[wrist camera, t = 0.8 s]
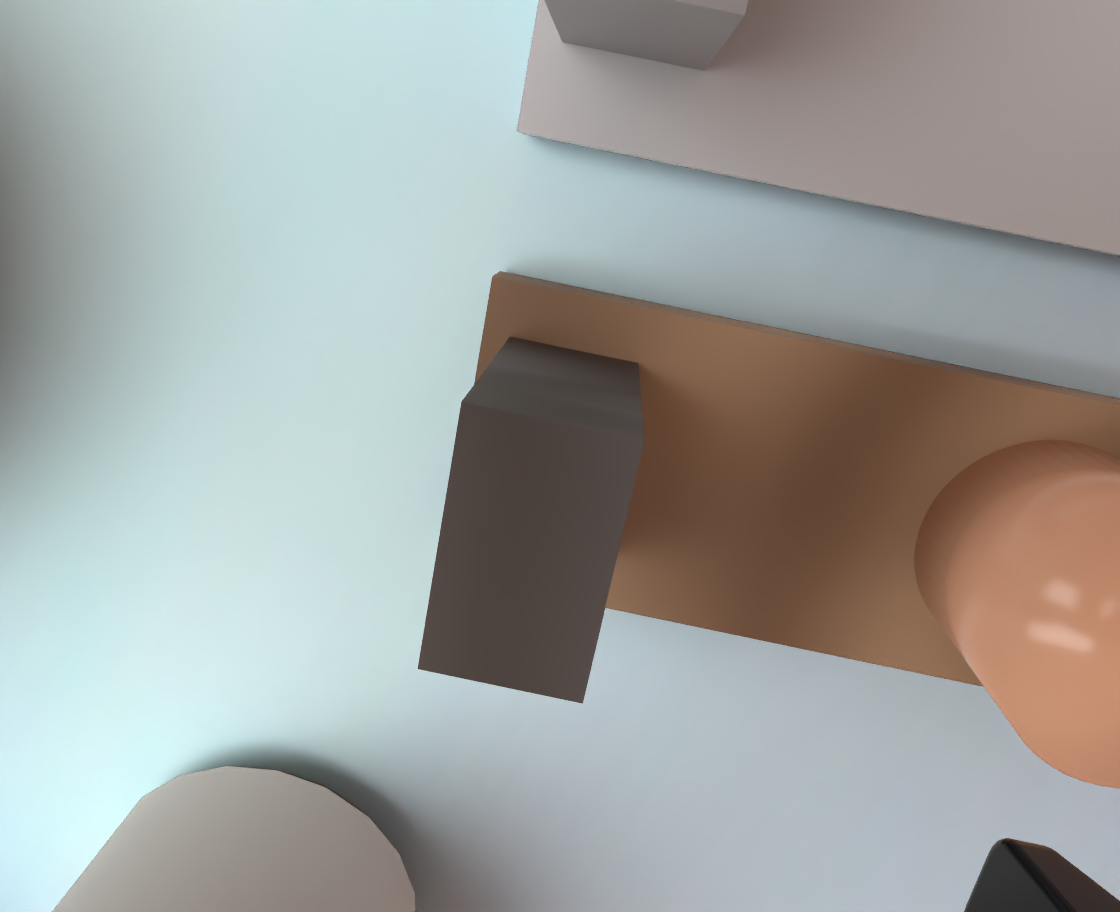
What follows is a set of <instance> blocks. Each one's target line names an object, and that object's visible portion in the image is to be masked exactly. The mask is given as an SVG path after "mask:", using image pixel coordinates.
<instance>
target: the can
mask: <svg viewBox="0 0 1120 912" xmlns="http://www.w3.org/2000/svg"><path fill="white" fill-rule="evenodd" d="M52 912H415V892H414V890H413V887H412V885H411V882H410V880H409V877H408V874H407V872H406V869H405V867H404V864H403V862H402V859H401V857H400V854H399V853H398V852H397V850H396V849H395V848H394V847H393V845H392V844H391V843H390V842H389V841H388V839H387V838H386V837H385V836H384V835H383V833H382V832H381V831H380V830H379V829H378V827H377V826H376V825H375V824H374V822H373V821H372V820H371V819H370V818H369V817H368V816H367V815H365V814H364V813H362V812H361V811H359V810H358V809H357V808H355V807H354V806H352V805H351V804H349V803H348V802H346V801H345V800H343V799H342V798H341V797H339V796H338V795H336V794H335V793H333V792H332V791H330V790H329V789H327V788H326V787H323V786H321V785H318V784H315V783H312V782H309V781H307V780H304V779H301V778H298V777H296V776H293V775H290V774H286V773H283V772H281V771H278V770H267V769H256V768H244V767H233V766H224V767H219V768H214V769H209V770H204V771H199V772H194V773H189V774H184V775H179V776H178V777H176V778H174V779H172V780H171V781H169V782H167V783H165V784H164V785H162V786H160V787H159V788H157V789H155V790H153V791H152V792H150V793H148V794H146V795H145V796H143V797H142V798H141V799H140V800H139V802H138V803H137V804H136V805H135V807H134V808H133V809H132V810H131V812H130V813H129V814H128V816H127V817H126V818H125V819H124V821H123V822H122V823H121V824H120V826H119V827H118V828H117V829H116V831H115V832H114V833H113V835H112V836H111V837H110V838H109V840H108V841H107V842H106V844H105V845H104V846H103V847H102V849H101V850H100V851H99V852H98V854H97V855H96V856H95V858H94V859H93V860H92V861H91V863H90V864H89V865H88V866H87V868H86V869H85V870H84V872H83V873H82V874H81V875H80V877H79V878H78V879H77V880H76V882H75V883H74V884H73V886H72V887H71V888H70V889H69V891H68V892H67V893H66V895H65V896H64V897H63V898H62V900H61V901H60V902H59V903H58V905H57V906H56V907H55V909H54V910H53V911H52Z"/></svg>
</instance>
